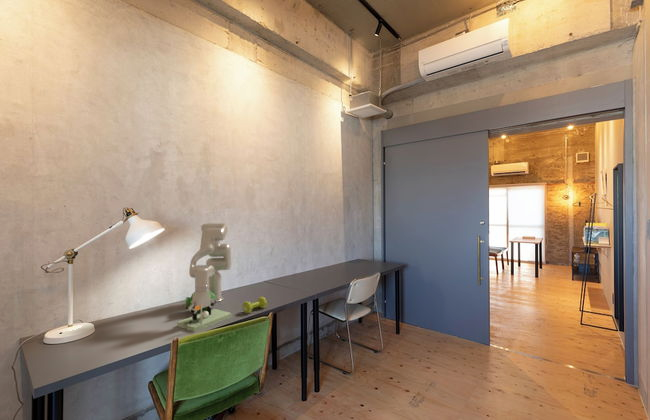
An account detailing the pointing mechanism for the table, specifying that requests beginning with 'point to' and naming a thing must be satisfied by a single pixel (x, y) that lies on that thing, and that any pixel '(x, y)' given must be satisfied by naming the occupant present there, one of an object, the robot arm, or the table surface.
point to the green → (204, 319)
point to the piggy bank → (189, 302)
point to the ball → (205, 314)
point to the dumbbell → (254, 305)
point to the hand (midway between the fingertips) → (201, 317)
